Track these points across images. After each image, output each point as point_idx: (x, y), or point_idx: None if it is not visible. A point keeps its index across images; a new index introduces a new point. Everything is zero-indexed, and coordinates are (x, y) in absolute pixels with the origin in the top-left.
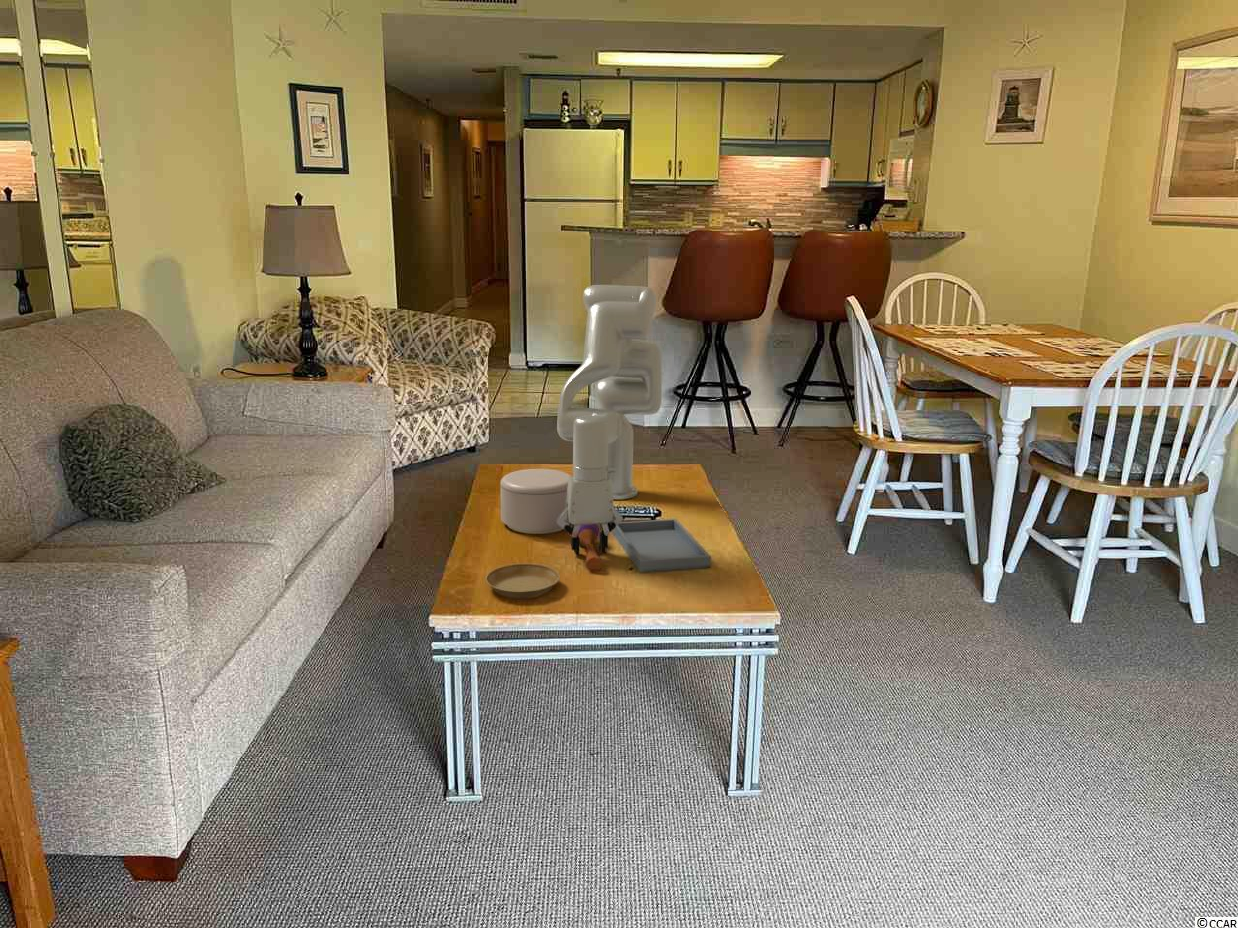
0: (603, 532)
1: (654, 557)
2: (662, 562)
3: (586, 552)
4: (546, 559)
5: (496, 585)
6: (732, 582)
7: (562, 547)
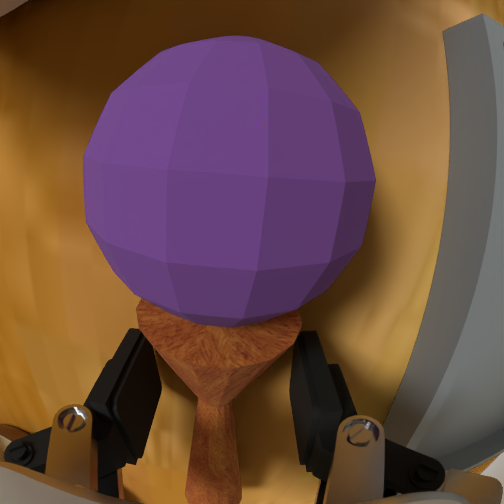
0: (319, 476)
1: (455, 414)
2: None
3: (190, 459)
4: (36, 353)
5: (2, 440)
6: (475, 468)
7: (78, 215)
